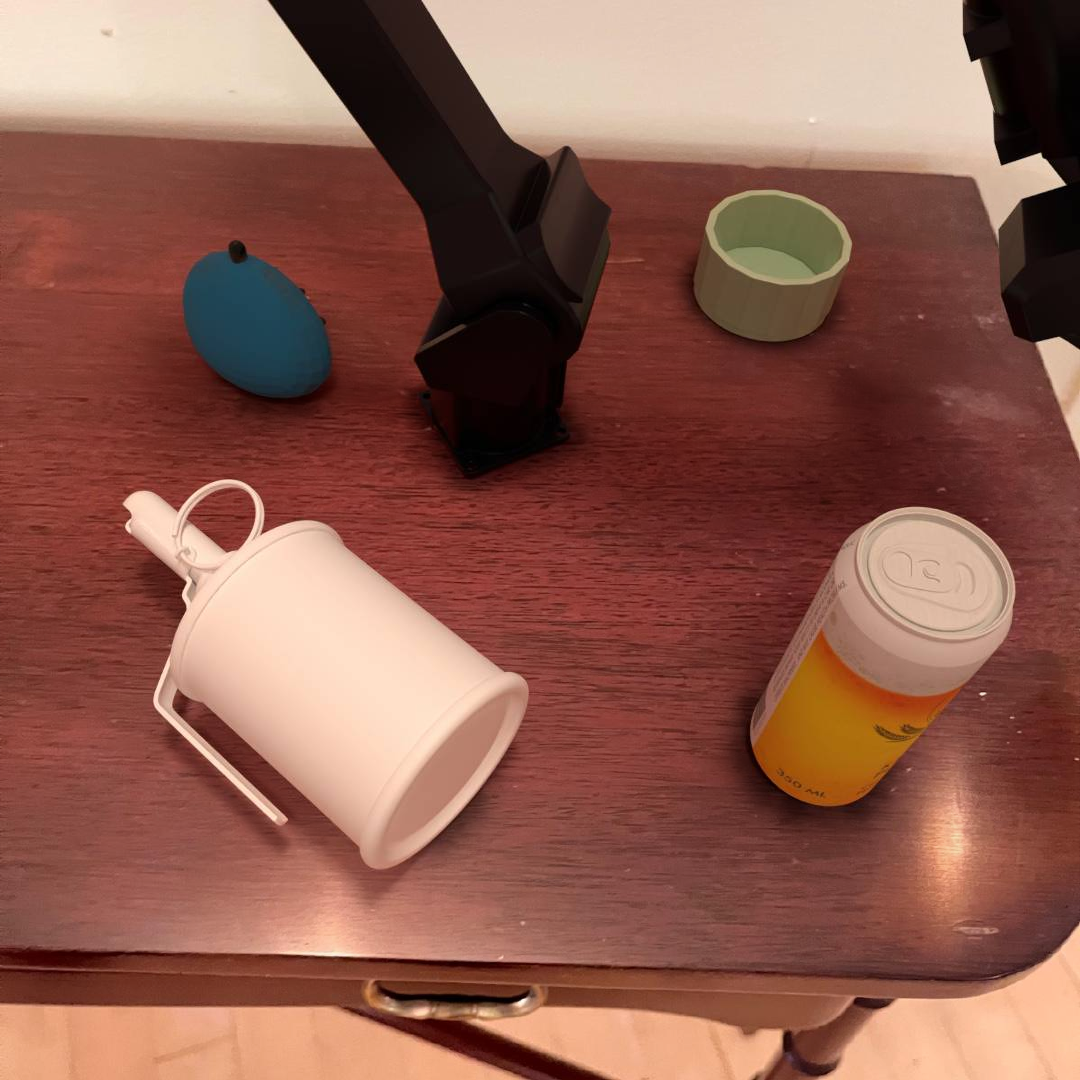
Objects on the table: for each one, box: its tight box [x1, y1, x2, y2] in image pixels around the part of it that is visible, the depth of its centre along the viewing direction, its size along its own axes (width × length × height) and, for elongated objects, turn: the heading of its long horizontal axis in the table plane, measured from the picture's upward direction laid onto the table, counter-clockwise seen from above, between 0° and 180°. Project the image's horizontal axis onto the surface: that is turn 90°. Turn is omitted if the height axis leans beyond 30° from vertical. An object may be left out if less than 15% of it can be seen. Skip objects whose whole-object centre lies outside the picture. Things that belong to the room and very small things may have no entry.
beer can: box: [749, 506, 1016, 807], centre depth 40 cm, size 6×6×15 cm
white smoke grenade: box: [122, 479, 530, 870], centre depth 43 cm, size 10×9×20 cm
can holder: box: [693, 189, 853, 342], centre depth 62 cm, size 9×9×4 cm
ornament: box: [181, 239, 333, 399], centre depth 53 cm, size 8×5×10 cm, turn 70°
